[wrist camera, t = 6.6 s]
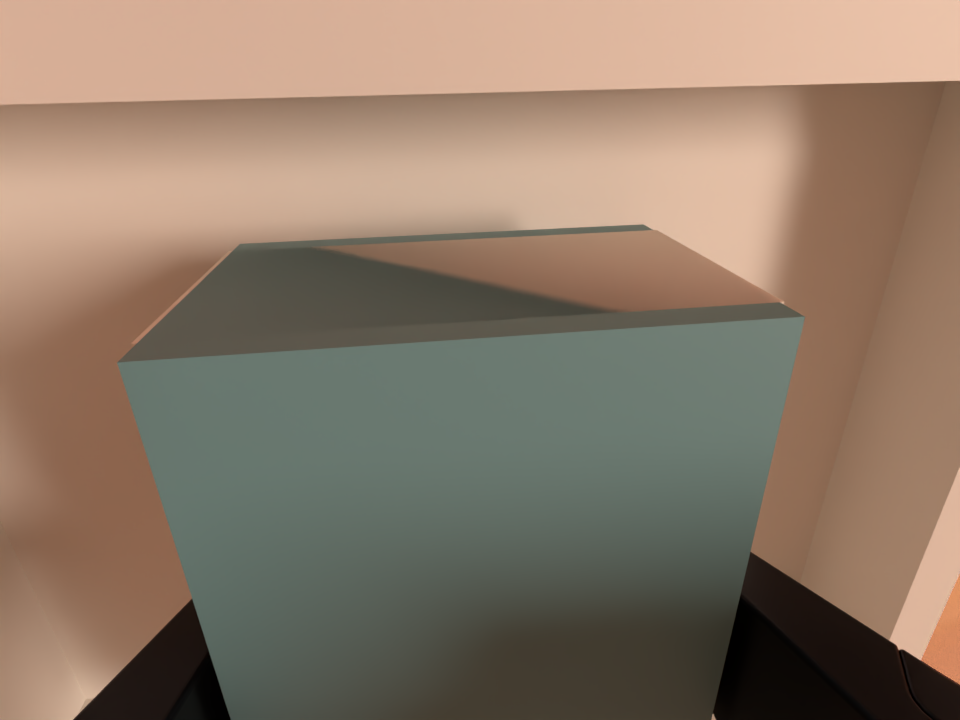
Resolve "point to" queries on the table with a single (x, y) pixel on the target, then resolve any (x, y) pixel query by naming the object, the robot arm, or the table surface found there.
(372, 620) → the book
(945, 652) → the table surface
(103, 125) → the book tray
